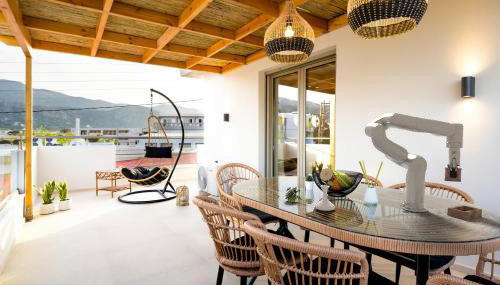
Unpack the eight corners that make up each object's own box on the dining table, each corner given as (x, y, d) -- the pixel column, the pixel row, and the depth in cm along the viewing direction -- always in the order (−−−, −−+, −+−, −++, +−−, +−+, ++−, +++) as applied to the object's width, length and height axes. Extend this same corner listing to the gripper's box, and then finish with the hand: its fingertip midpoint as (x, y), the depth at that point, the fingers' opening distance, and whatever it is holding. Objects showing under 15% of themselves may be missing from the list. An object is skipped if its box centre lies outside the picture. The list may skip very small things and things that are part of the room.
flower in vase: (311, 208, 167) (311, 166, 165) (327, 206, 170) (327, 165, 169) (323, 214, 154) (324, 169, 153) (341, 212, 158) (341, 168, 157)
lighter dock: (465, 220, 143) (465, 212, 143) (447, 215, 152) (447, 207, 151) (481, 216, 148) (481, 209, 148) (463, 212, 157) (463, 205, 156)
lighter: (445, 181, 160) (446, 163, 159) (443, 180, 163) (444, 163, 162) (462, 182, 157) (462, 164, 157) (459, 180, 161) (460, 163, 160)
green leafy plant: (288, 208, 185) (289, 191, 191) (304, 207, 180) (305, 190, 186) (281, 202, 177) (283, 184, 184) (297, 200, 172) (298, 183, 178)
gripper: (463, 146, 150) (462, 180, 151) (461, 144, 164) (460, 175, 165) (446, 145, 154) (445, 178, 155) (446, 144, 168) (445, 174, 169)
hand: (453, 176), depth 160 cm, fingers closed on lighter, 4 cm apart
